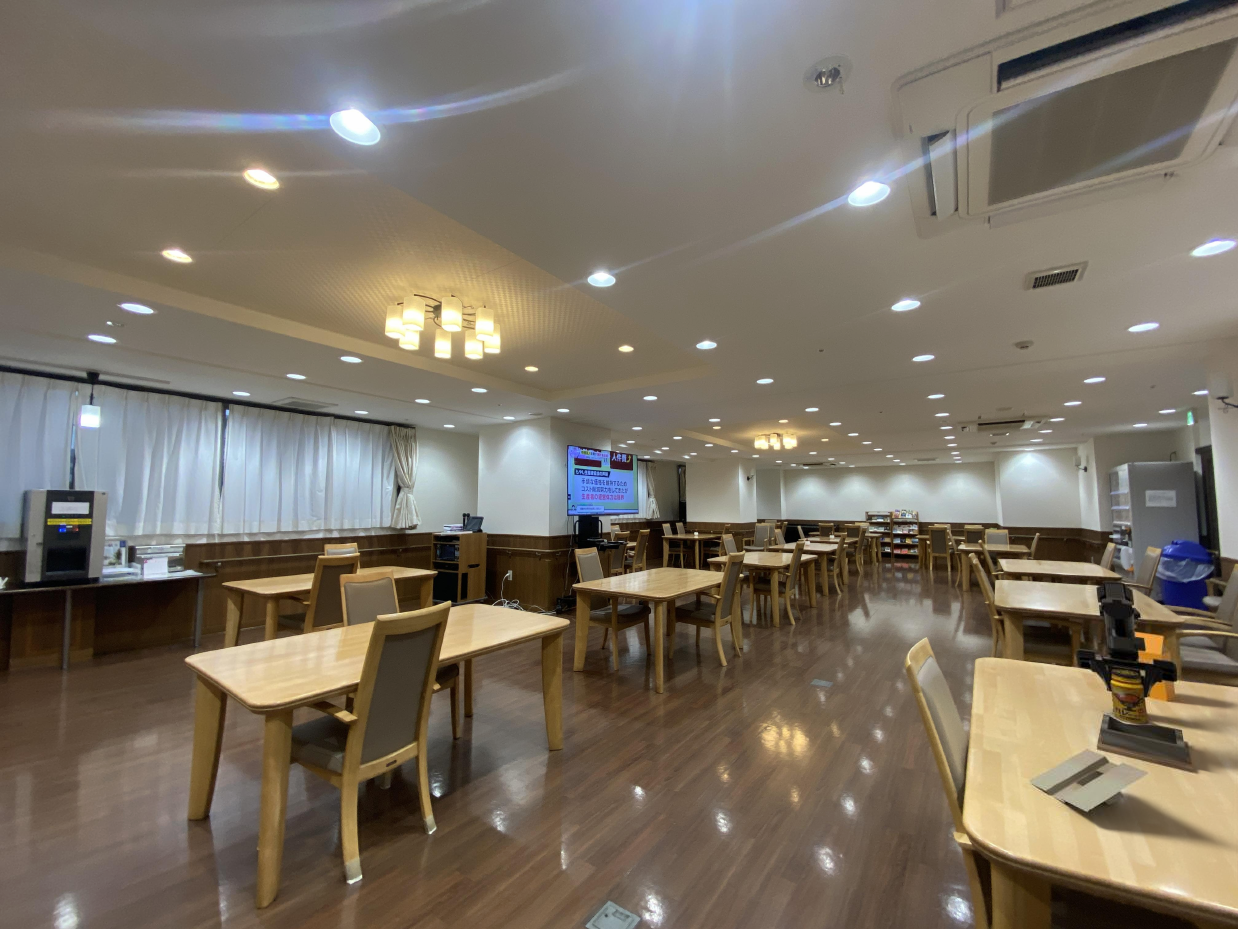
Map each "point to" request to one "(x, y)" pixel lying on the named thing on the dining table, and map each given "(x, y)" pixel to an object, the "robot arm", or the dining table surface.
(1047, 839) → the dining table surface
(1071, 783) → the grey slotted panel
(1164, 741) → the well caddy
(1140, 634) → the orange juice
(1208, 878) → the dining table surface
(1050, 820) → the dining table surface
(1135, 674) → the condiment
